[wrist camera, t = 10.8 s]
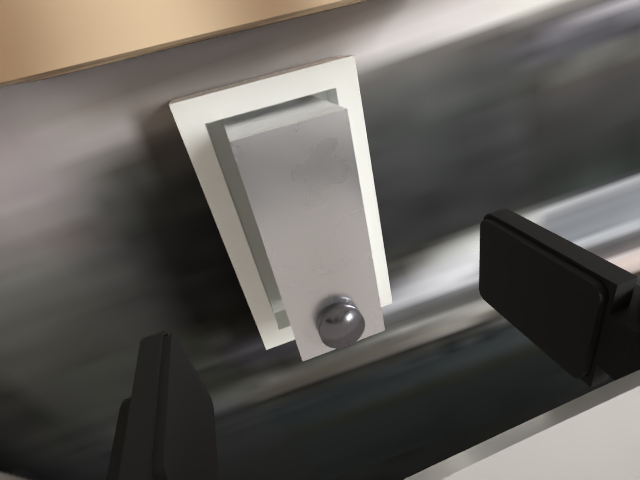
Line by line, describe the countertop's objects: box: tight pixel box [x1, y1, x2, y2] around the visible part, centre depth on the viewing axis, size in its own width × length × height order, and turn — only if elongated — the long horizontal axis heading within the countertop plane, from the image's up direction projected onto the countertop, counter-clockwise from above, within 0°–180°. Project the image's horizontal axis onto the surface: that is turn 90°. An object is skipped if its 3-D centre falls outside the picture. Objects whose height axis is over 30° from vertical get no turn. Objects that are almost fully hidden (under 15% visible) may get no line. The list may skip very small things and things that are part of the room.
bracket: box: [169, 55, 392, 350], centre depth 18 cm, size 8×13×2 cm, turn 13°
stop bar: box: [222, 95, 385, 361], centre depth 16 cm, size 4×10×6 cm, turn 12°
